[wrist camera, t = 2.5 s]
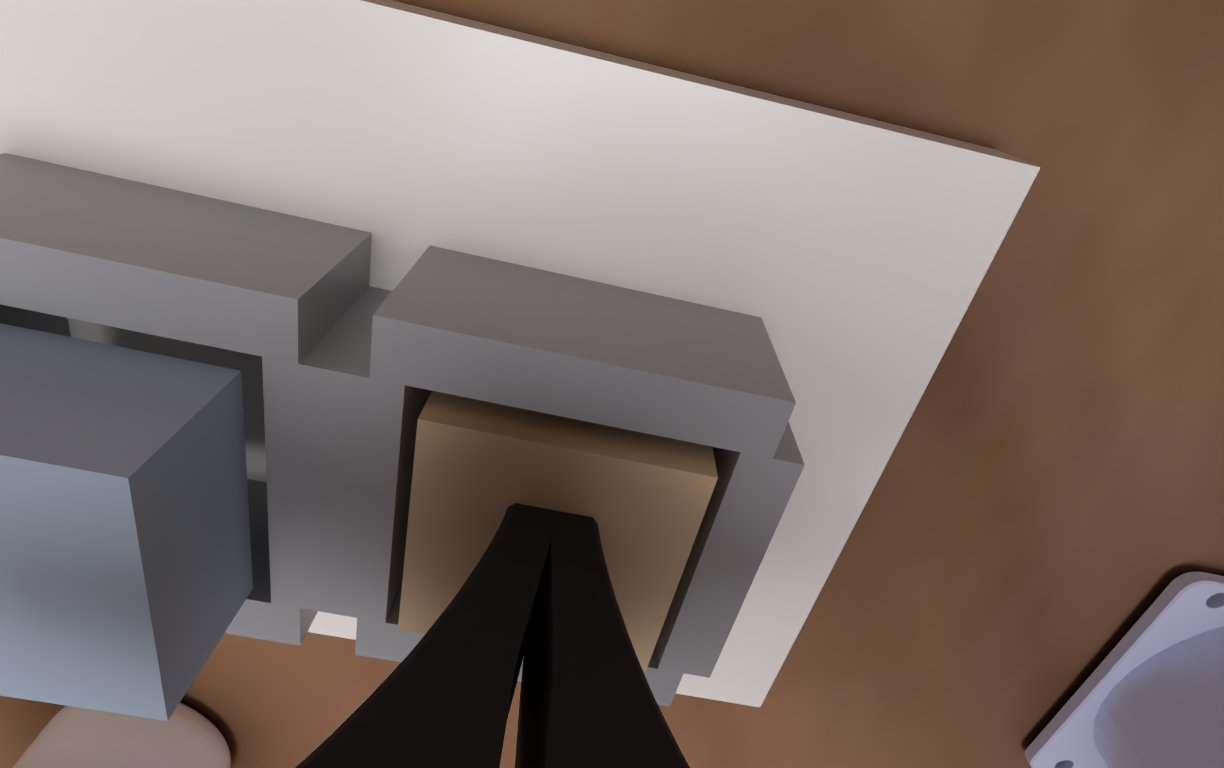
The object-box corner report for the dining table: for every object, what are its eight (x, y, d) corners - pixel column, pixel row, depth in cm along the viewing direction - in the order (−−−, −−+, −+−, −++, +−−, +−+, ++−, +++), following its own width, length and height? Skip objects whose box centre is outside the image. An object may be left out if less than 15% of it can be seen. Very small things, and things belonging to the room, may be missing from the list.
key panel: (996, 150, 12) (1168, 220, 8) (751, 658, 19) (782, 829, 15) (-204, -148, 11) (-698, -234, 7) (-4, 528, 17) (-190, 682, 13)
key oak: (702, 392, 12) (718, 478, 10) (643, 568, 14) (645, 671, 12) (457, 341, 12) (417, 419, 10) (434, 530, 14) (398, 629, 12)
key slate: (241, 371, 10) (128, 478, 8) (253, 588, 12) (167, 720, 10) (-89, 305, 9) (-308, 399, 7) (-15, 542, 11) (-167, 670, 9)
